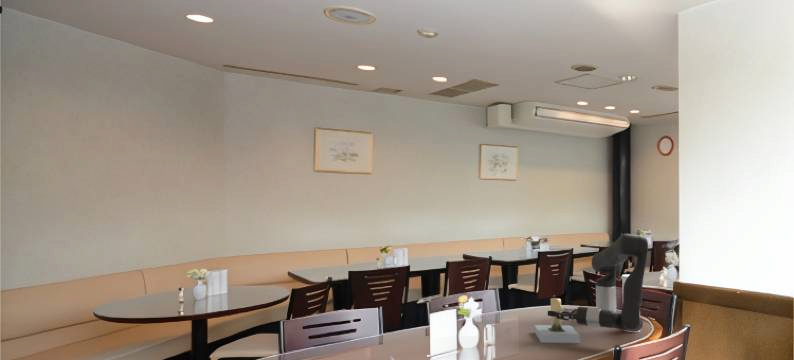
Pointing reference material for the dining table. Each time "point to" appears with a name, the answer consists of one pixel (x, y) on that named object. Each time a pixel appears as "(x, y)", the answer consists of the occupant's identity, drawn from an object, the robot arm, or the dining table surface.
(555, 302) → the yellow tall cylinder
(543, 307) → the dining table surface
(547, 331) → the jig
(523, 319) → the dining table surface
